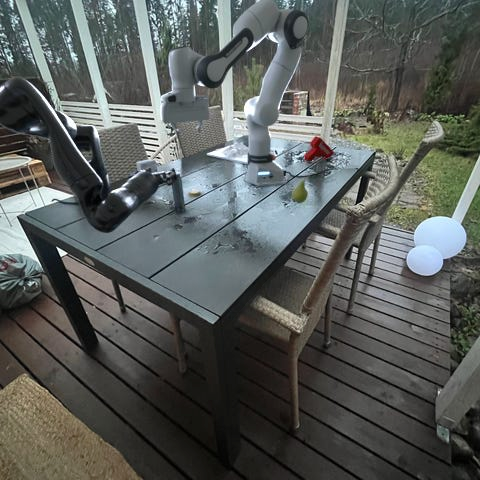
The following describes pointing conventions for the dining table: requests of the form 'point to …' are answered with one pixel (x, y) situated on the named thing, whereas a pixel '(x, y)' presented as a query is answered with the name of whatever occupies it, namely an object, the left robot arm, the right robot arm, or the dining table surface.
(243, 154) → the relief map
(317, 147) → the toy gun
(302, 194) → the fruit
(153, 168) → the ink box
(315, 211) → the dining table surface
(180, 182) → the dark grey cylinder
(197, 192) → the lid
